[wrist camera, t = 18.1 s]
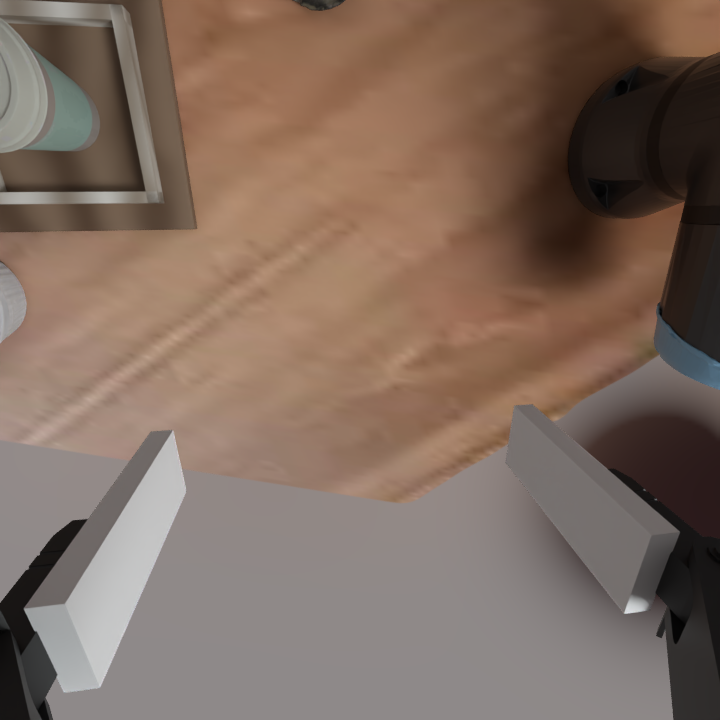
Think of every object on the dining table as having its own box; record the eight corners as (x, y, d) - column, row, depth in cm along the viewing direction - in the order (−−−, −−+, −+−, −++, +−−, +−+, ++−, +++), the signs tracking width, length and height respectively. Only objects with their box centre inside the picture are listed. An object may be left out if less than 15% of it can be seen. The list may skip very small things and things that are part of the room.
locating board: (158, -16, 33) (147, -34, 31) (197, 228, 40) (190, 229, 38) (-103, -30, 31) (-136, -50, 28) (-12, 231, 38) (-33, 233, 36)
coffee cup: (-2, 53, 32) (-163, -29, 21) (106, 62, 34) (5, -12, 22) (26, 165, 36) (-102, 144, 24) (124, 170, 37) (43, 152, 25)
